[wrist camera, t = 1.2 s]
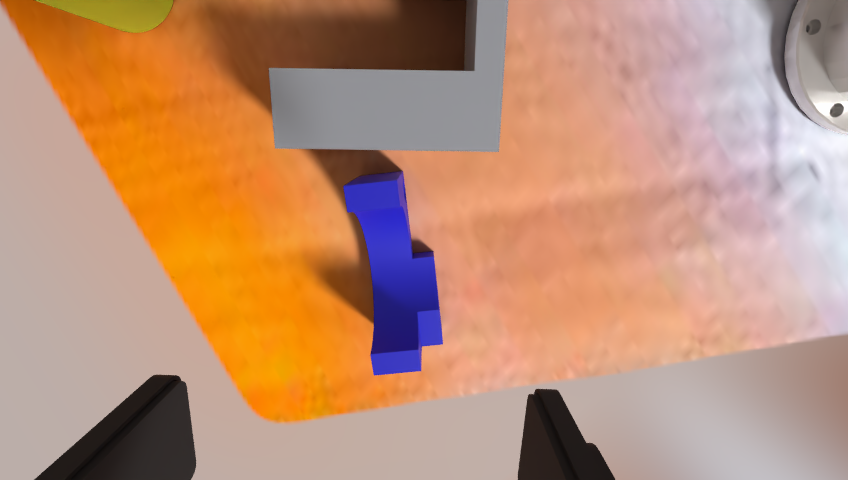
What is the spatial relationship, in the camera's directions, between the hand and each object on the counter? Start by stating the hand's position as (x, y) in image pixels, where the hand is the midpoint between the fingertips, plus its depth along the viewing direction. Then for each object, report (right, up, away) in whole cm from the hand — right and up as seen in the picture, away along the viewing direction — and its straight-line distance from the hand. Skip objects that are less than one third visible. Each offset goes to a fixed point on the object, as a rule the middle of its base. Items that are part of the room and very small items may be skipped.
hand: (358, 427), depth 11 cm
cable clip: (0, +4, +19) cm, 19 cm away
